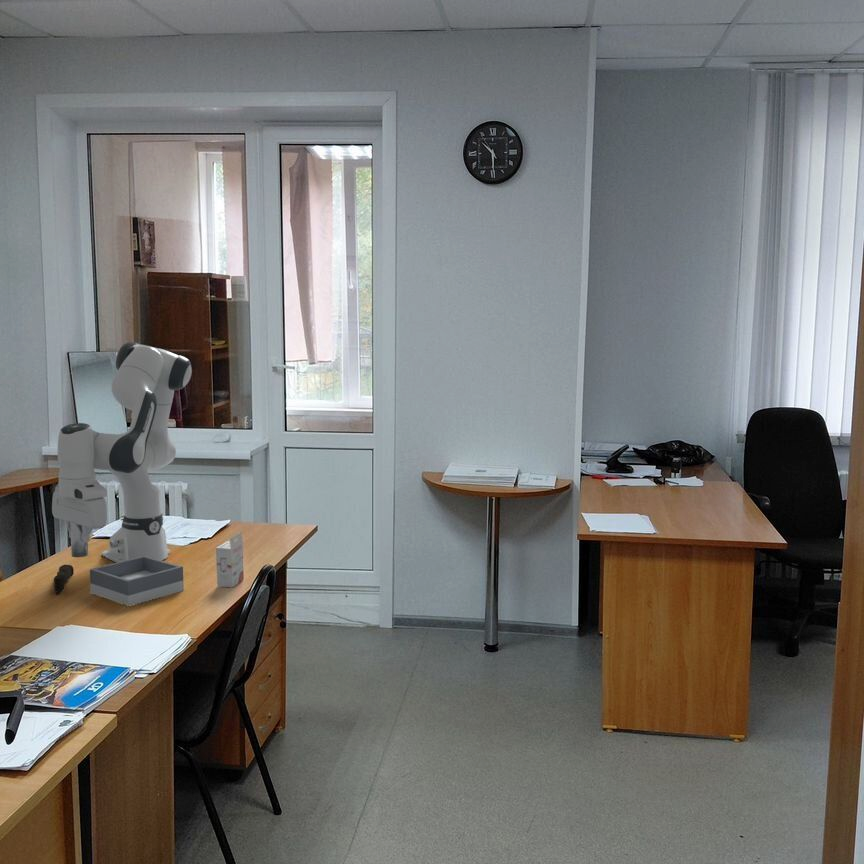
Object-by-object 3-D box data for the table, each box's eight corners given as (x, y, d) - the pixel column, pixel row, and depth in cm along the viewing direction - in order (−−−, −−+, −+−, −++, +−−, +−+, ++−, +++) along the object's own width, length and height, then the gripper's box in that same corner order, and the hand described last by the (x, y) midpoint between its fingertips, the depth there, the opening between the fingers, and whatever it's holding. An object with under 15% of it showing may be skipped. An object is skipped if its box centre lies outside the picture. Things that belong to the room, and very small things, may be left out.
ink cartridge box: (228, 578, 269) (227, 530, 267) (244, 579, 268) (243, 531, 266) (216, 586, 261) (214, 537, 259) (232, 588, 260) (231, 538, 258)
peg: (68, 555, 234) (67, 521, 232) (82, 552, 237) (81, 518, 236) (76, 558, 231) (75, 524, 230) (91, 555, 234) (90, 521, 233)
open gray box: (90, 593, 254) (89, 569, 253) (145, 578, 268) (144, 555, 267) (128, 606, 243) (127, 581, 242) (183, 590, 257) (183, 566, 256)
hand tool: (59, 577, 270) (59, 562, 269) (74, 576, 270) (73, 561, 270) (46, 597, 251) (45, 581, 251) (61, 596, 252) (60, 580, 251)
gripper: (44, 483, 235) (46, 535, 237) (88, 494, 223) (89, 549, 225) (67, 480, 240) (69, 530, 242) (110, 491, 228) (112, 544, 230)
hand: (79, 539), depth 233 cm, fingers closed on peg, 4 cm apart
